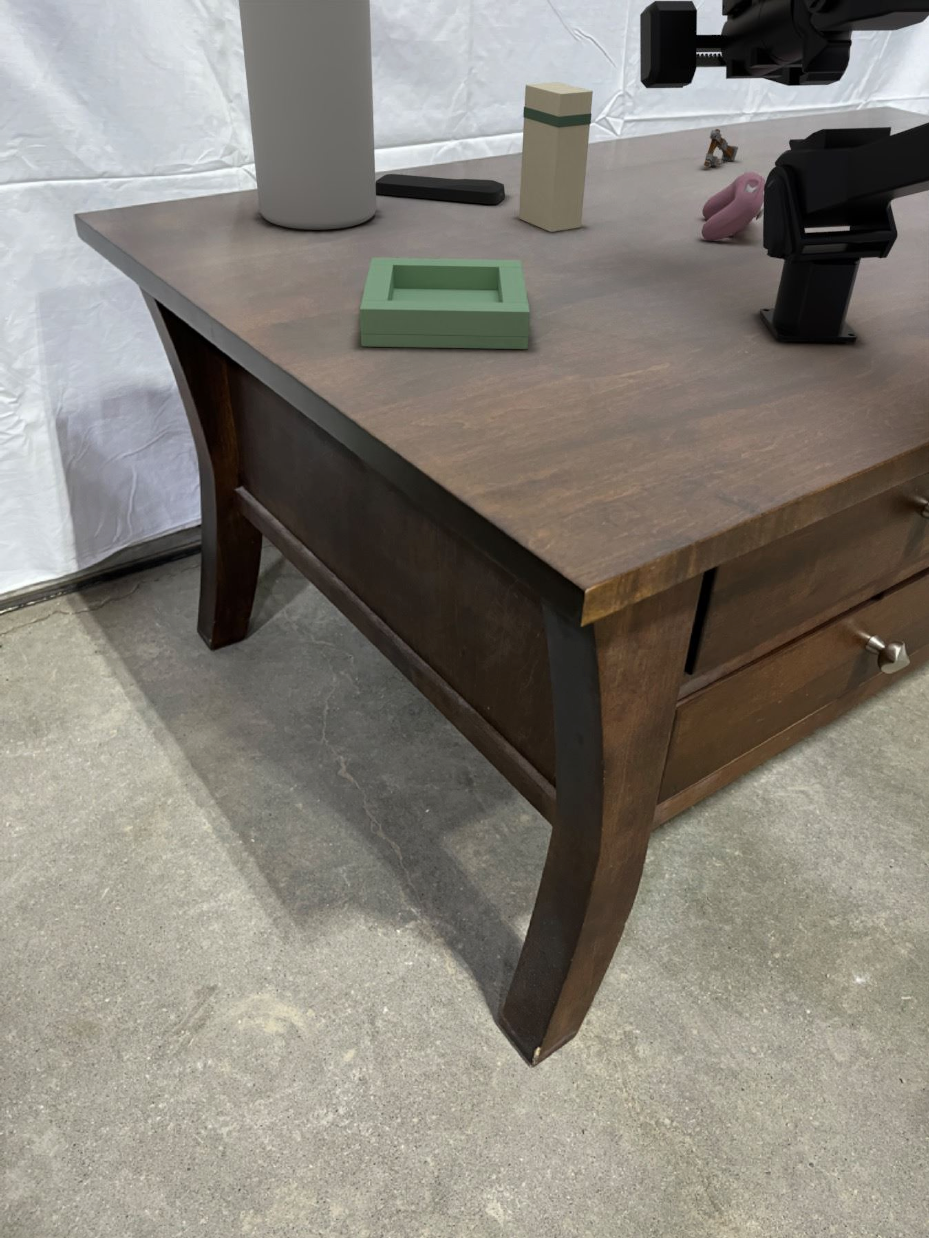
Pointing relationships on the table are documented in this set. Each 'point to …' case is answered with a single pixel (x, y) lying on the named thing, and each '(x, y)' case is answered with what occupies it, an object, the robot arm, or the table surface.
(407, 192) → the remote control
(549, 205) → the cream rectangular block
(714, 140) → the grey brown angular piece
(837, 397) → the table surface
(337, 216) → the cylinder vase
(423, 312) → the green rectangular tray
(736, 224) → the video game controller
